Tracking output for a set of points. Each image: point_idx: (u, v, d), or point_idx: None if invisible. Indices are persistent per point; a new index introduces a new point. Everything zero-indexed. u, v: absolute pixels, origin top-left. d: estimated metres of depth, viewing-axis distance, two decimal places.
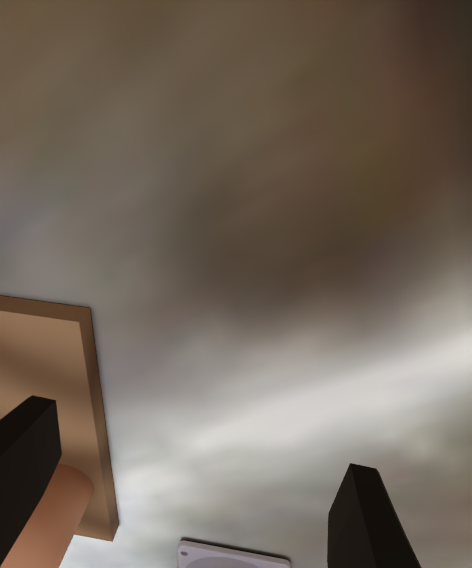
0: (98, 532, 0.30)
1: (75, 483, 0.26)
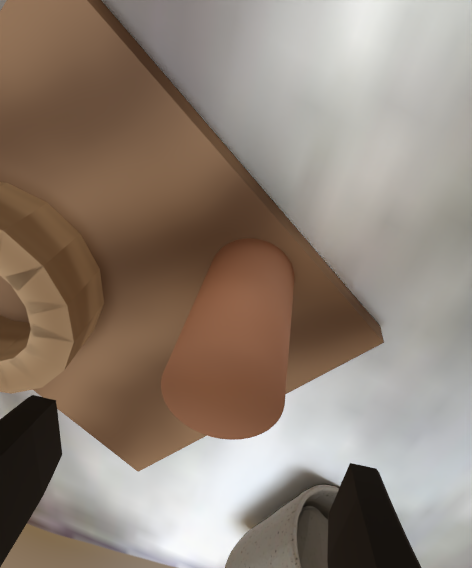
0: (354, 339, 0.19)
1: (248, 247, 0.17)
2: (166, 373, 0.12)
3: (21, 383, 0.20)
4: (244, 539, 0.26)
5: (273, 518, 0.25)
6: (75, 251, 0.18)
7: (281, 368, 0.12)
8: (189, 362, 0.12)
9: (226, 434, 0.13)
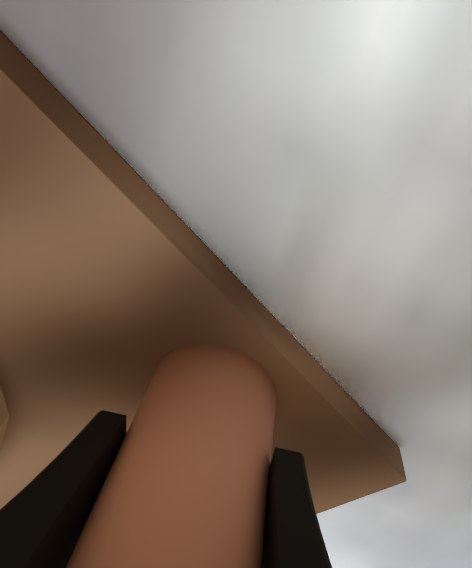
0: (363, 475, 0.13)
1: (203, 363, 0.11)
2: None
3: None
4: None
5: None
6: None
7: None
8: None
9: None
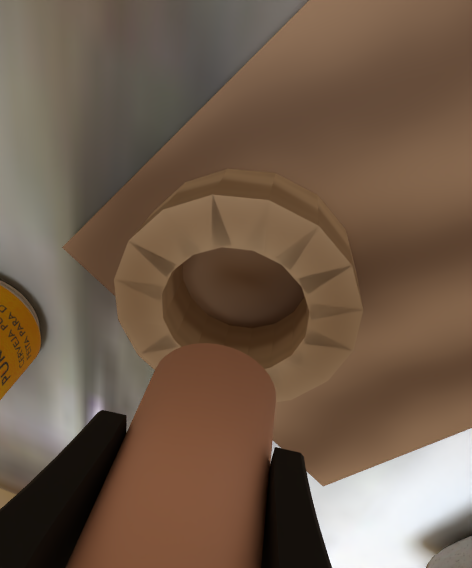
0: None
1: (203, 363, 0.11)
2: None
3: None
4: (446, 563, 0.25)
5: None
6: None
7: None
8: None
9: None
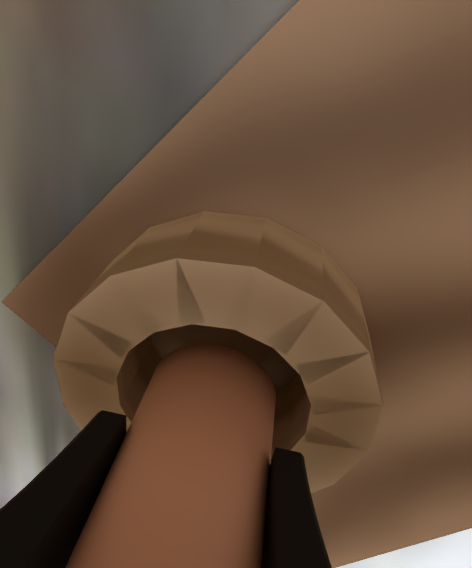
0: None
1: (203, 363, 0.11)
2: None
3: None
4: None
5: None
6: (363, 317, 0.12)
7: None
8: None
9: None
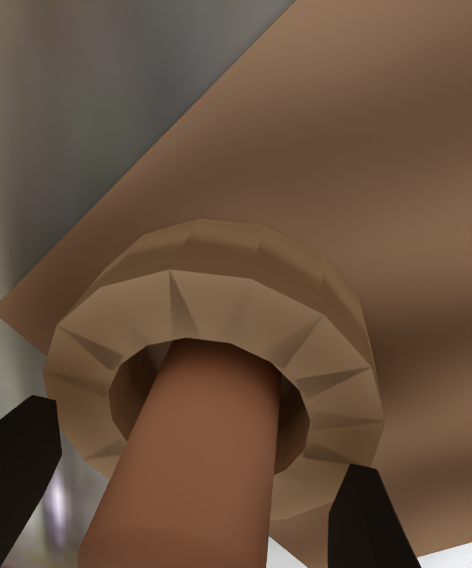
0: None
1: None
2: (83, 551, 0.08)
3: None
4: None
5: None
6: (365, 328, 0.12)
7: (258, 542, 0.08)
8: (115, 542, 0.08)
9: None
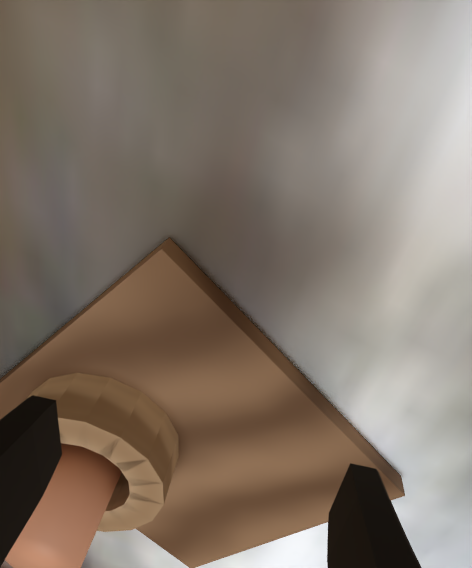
0: None
1: None
2: None
3: (114, 526, 0.24)
4: None
5: None
6: (163, 431, 0.23)
7: (76, 543, 0.19)
8: None
9: None
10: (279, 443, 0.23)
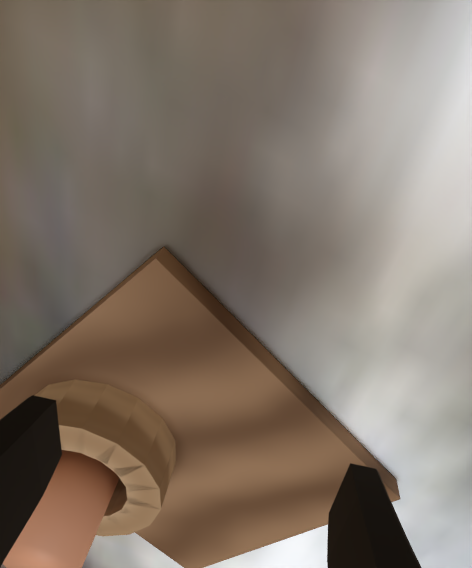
0: None
1: None
2: None
3: (112, 530, 0.25)
4: None
5: None
6: (160, 437, 0.23)
7: (74, 549, 0.19)
8: (12, 550, 0.19)
9: None
10: (275, 448, 0.24)
